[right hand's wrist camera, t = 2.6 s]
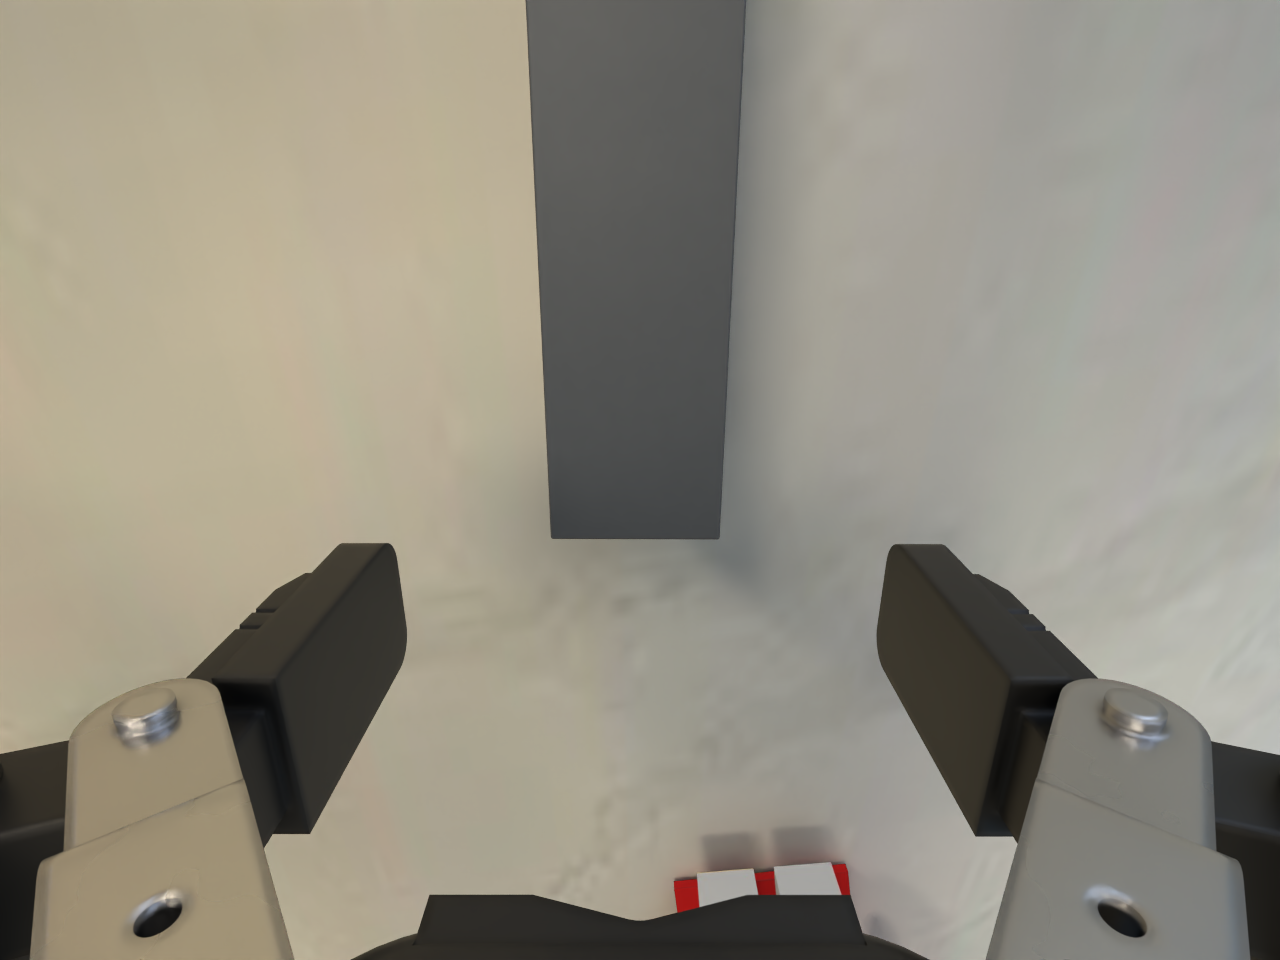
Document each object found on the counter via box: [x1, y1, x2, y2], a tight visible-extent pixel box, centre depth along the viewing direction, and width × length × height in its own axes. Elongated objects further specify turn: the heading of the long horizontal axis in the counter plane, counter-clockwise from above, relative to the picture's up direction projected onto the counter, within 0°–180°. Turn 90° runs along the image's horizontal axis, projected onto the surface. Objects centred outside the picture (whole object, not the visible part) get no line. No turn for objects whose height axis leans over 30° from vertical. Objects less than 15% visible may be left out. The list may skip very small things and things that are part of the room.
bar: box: [526, 0, 746, 539], centre depth 19 cm, size 26×5×9 cm, turn 0°
